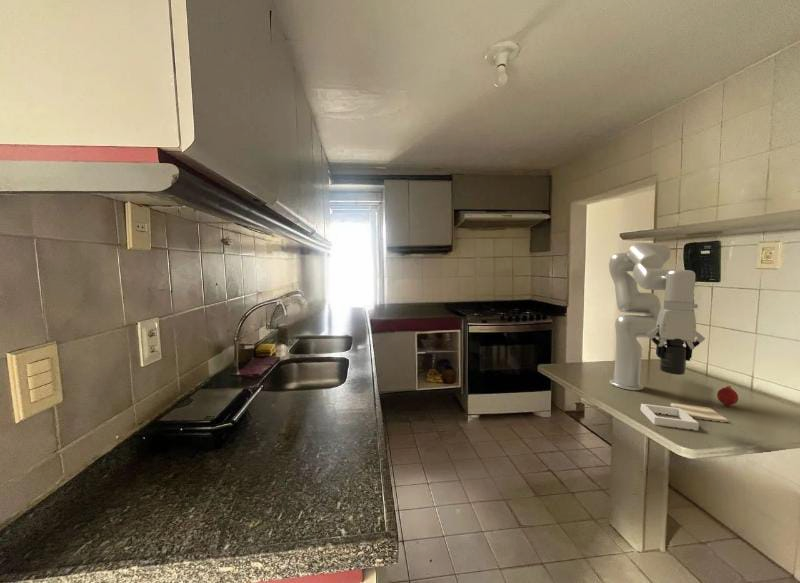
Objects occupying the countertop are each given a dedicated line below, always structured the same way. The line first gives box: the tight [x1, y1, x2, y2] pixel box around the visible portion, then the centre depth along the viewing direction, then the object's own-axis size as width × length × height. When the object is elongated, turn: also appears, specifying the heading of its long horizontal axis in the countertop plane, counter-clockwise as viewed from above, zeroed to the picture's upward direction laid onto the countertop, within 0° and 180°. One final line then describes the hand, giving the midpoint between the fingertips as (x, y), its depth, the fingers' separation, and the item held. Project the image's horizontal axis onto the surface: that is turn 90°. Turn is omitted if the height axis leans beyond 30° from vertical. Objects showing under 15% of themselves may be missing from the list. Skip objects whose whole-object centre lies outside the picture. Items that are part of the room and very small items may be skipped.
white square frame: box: [640, 403, 700, 431], centre depth 116 cm, size 12×12×2 cm
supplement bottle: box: [659, 339, 687, 376], centre depth 115 cm, size 7×7×12 cm
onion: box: [716, 385, 739, 407], centre depth 129 cm, size 6×6×8 cm
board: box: [670, 402, 729, 423], centre depth 122 cm, size 11×12×1 cm
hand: (673, 358), depth 115 cm, fingers closed on supplement bottle, 6 cm apart
